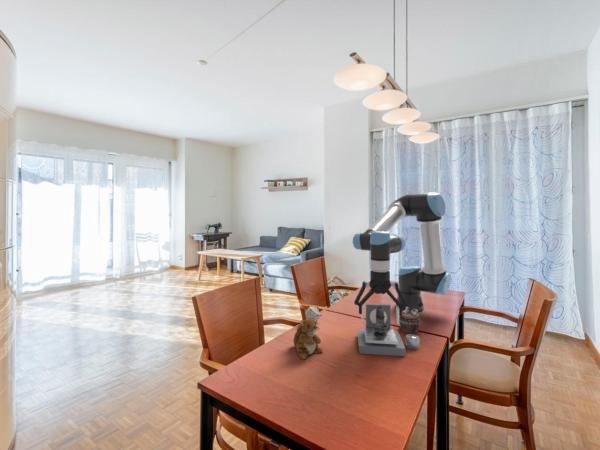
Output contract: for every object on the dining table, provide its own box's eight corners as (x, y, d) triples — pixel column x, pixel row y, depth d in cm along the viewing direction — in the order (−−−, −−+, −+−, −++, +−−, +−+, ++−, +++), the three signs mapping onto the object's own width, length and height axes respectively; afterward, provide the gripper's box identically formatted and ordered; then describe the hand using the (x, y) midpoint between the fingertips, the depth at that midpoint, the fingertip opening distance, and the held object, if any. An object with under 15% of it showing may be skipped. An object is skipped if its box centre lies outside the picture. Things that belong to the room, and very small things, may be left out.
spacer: (417, 343, 120) (417, 334, 119) (420, 349, 115) (420, 339, 115) (404, 343, 120) (404, 333, 120) (407, 348, 116) (407, 338, 115)
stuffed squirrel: (303, 361, 107) (303, 326, 106) (286, 346, 119) (285, 314, 118) (326, 354, 112) (325, 320, 111) (307, 340, 124) (306, 310, 123)
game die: (315, 328, 145) (327, 312, 146) (311, 329, 138) (323, 311, 139) (302, 317, 149) (313, 301, 150) (297, 317, 142) (309, 300, 143)
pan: (393, 334, 122) (393, 329, 122) (398, 347, 110) (398, 341, 110) (363, 332, 124) (363, 327, 124) (365, 345, 112) (365, 340, 112)
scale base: (397, 338, 125) (398, 303, 125) (405, 356, 109) (405, 317, 109) (357, 335, 128) (357, 302, 127) (359, 353, 112) (359, 315, 111)
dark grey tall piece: (370, 331, 120) (370, 303, 119) (384, 331, 120) (384, 302, 120) (375, 337, 114) (375, 307, 113) (390, 337, 114) (390, 307, 114)
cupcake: (399, 324, 141) (399, 303, 140) (421, 327, 137) (421, 306, 136) (397, 331, 132) (397, 309, 132) (420, 335, 128) (420, 312, 128)
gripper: (410, 269, 118) (410, 320, 118) (348, 267, 122) (348, 317, 122) (415, 272, 110) (414, 327, 111) (348, 271, 114) (348, 324, 115)
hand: (380, 322), depth 117 cm, fingers open, 13 cm apart
